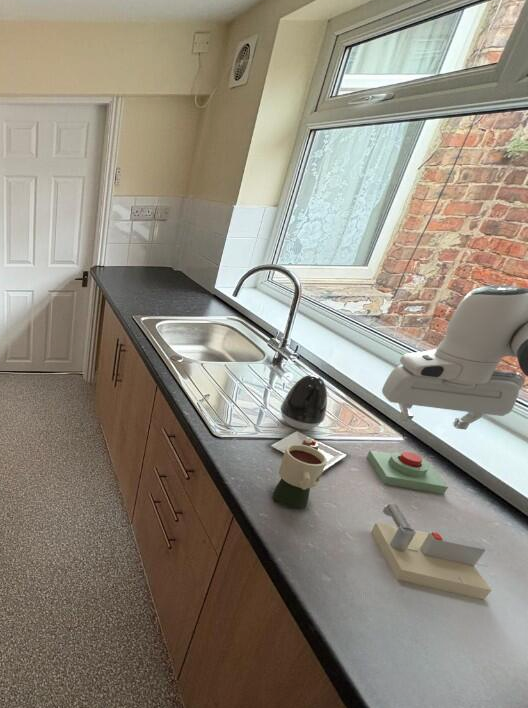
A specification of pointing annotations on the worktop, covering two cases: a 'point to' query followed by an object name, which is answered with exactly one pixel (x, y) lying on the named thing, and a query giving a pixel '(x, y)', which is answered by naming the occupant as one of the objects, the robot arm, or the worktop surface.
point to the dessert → (302, 439)
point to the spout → (399, 528)
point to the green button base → (406, 473)
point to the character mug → (298, 475)
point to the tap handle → (452, 549)
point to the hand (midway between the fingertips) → (431, 423)
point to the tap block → (429, 566)
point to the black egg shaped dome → (305, 403)
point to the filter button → (410, 459)
